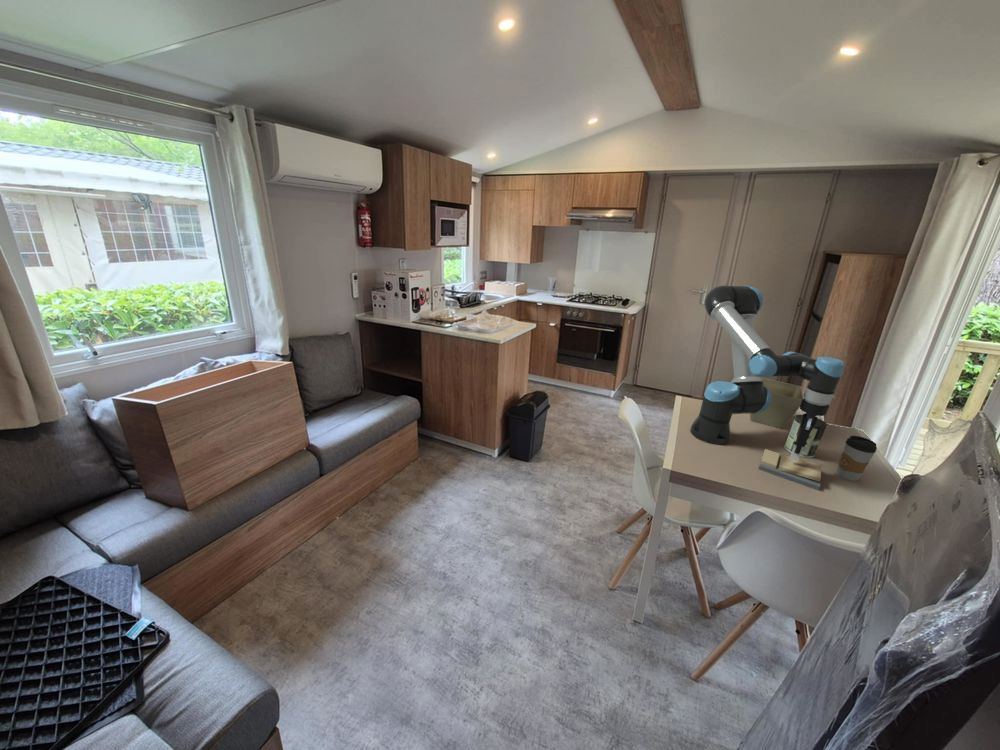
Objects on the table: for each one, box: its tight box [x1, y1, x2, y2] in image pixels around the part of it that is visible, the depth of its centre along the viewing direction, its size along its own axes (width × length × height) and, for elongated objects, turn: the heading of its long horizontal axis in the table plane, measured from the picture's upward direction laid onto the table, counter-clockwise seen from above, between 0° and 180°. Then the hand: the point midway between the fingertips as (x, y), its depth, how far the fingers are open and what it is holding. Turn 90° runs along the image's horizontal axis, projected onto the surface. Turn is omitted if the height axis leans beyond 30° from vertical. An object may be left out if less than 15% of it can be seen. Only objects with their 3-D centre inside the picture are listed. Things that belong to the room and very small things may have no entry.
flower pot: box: [749, 376, 804, 429], centre depth 180 cm, size 19×19×17 cm
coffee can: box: [784, 414, 828, 459], centre depth 156 cm, size 10×10×14 cm
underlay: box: [758, 448, 821, 491], centre depth 144 cm, size 18×15×3 cm
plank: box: [778, 453, 822, 483], centre depth 142 cm, size 12×11×1 cm
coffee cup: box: [836, 435, 878, 482], centre depth 140 cm, size 8×8×15 cm
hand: (793, 459), depth 143 cm, fingers closed
